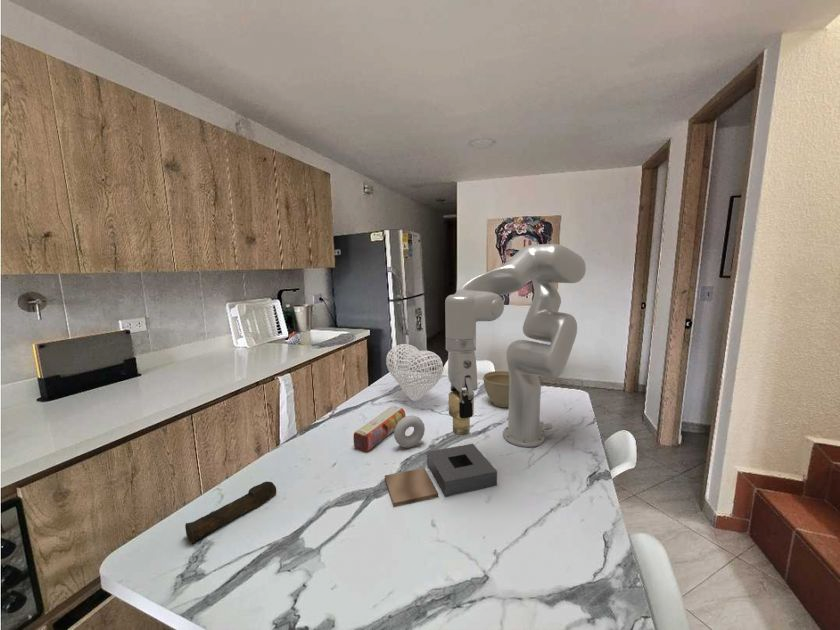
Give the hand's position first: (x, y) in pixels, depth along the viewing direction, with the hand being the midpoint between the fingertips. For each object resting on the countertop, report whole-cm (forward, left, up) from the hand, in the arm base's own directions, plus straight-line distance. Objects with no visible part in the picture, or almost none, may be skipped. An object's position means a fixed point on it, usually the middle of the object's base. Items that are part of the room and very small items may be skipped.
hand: (461, 410), depth 89 cm
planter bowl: (-35, -38, -18) cm, 54 cm away
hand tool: (+55, -2, -18) cm, 58 cm away
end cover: (0, 0, -6) cm, 6 cm away
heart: (-2, -52, -18) cm, 55 cm away
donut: (+9, -18, -18) cm, 27 cm away
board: (+14, +1, -18) cm, 23 cm away
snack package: (+17, -27, -18) cm, 37 cm away
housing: (0, 0, -18) cm, 18 cm away
